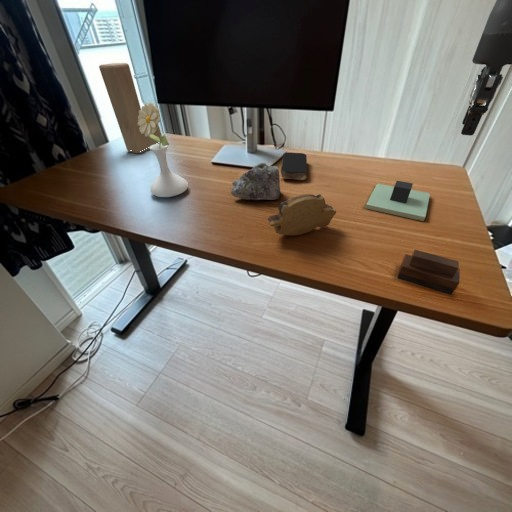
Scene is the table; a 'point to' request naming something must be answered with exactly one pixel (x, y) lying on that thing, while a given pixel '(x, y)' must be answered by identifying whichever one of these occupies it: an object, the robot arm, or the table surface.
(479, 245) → the table surface
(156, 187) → the flower in vase
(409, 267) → the brown stepped block
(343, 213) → the table surface
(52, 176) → the table surface
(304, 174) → the black sponge
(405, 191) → the charcoal matte cube
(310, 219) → the wooden carving
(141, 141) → the decorative block
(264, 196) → the mineral rock
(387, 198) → the tray
